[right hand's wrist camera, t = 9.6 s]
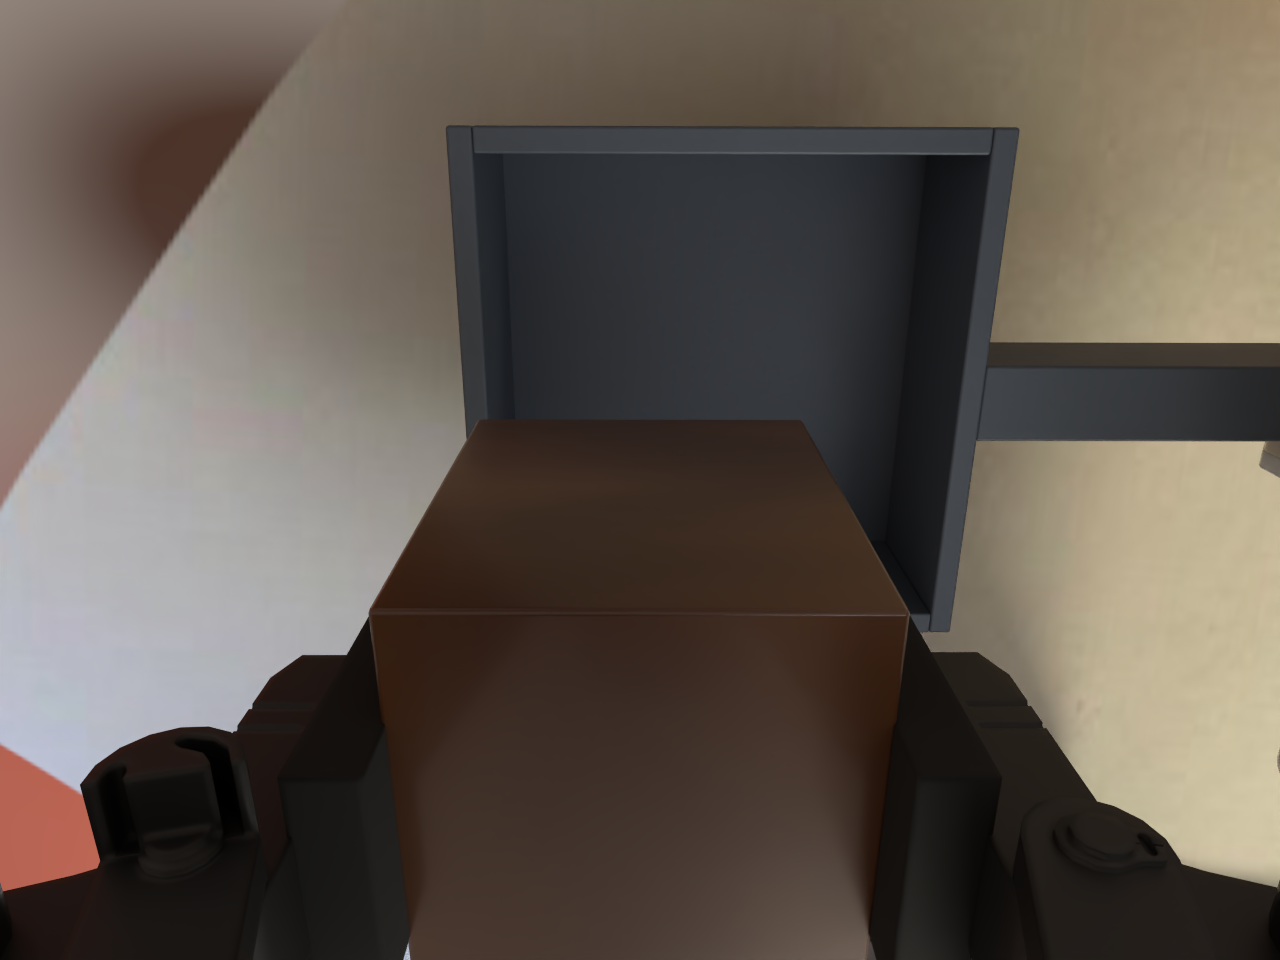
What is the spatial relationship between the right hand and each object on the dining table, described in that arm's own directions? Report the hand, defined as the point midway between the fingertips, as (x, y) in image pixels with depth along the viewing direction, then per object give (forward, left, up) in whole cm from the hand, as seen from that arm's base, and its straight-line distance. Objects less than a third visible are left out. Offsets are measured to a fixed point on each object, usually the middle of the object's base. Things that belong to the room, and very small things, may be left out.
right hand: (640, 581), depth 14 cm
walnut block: (0, 0, 0) cm, 0 cm away
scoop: (-7, -6, -15) cm, 17 cm away
